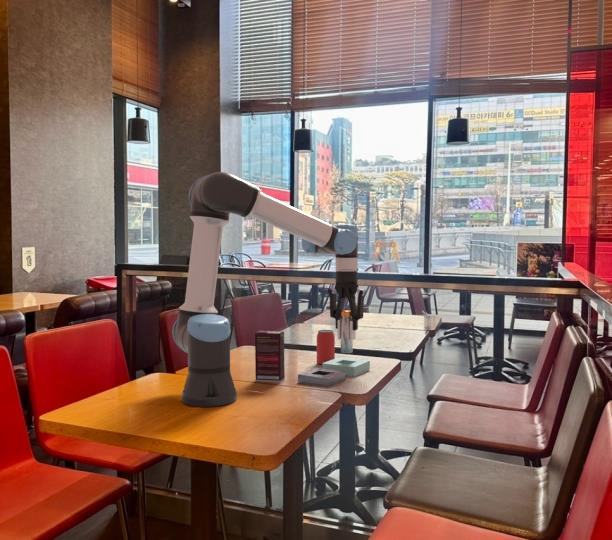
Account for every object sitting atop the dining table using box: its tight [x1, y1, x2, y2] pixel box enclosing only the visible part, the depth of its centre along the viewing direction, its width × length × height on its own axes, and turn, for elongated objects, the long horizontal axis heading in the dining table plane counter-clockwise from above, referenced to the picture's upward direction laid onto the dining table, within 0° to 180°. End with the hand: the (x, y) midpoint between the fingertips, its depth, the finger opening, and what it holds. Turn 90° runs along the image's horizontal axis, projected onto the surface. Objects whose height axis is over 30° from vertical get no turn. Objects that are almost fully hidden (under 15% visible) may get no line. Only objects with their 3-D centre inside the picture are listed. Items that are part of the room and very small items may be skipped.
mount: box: [297, 367, 346, 388], centre depth 184 cm, size 11×11×3 cm
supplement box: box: [254, 330, 286, 384], centre depth 185 cm, size 9×5×16 cm, turn 76°
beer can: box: [316, 329, 336, 365], centre depth 213 cm, size 7×7×12 cm
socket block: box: [321, 356, 371, 378], centre depth 198 cm, size 12×12×4 cm
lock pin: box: [340, 309, 354, 354], centre depth 198 cm, size 4×4×14 cm
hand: (346, 338), depth 198 cm, fingers closed on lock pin, 4 cm apart
